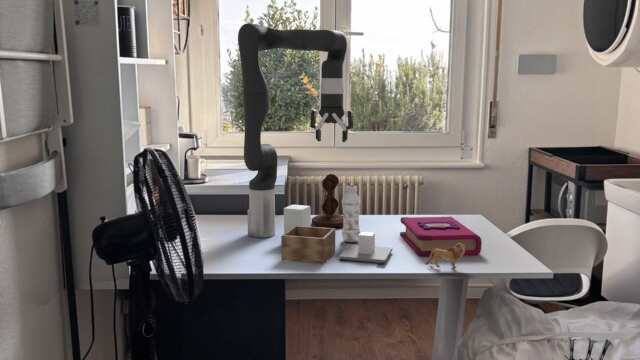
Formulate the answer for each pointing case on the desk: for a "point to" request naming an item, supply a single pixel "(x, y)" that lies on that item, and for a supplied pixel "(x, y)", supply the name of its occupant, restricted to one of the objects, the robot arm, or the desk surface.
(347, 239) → the plastic bottle
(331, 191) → the brown wooden sculpture
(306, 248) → the box
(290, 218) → the supplement box
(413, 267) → the desk surface
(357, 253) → the lid
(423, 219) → the book
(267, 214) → the robot arm
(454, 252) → the lion figurine
